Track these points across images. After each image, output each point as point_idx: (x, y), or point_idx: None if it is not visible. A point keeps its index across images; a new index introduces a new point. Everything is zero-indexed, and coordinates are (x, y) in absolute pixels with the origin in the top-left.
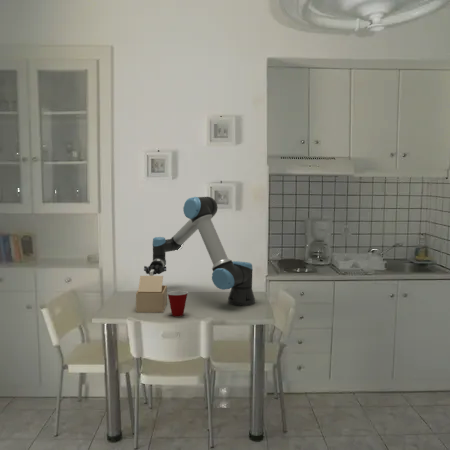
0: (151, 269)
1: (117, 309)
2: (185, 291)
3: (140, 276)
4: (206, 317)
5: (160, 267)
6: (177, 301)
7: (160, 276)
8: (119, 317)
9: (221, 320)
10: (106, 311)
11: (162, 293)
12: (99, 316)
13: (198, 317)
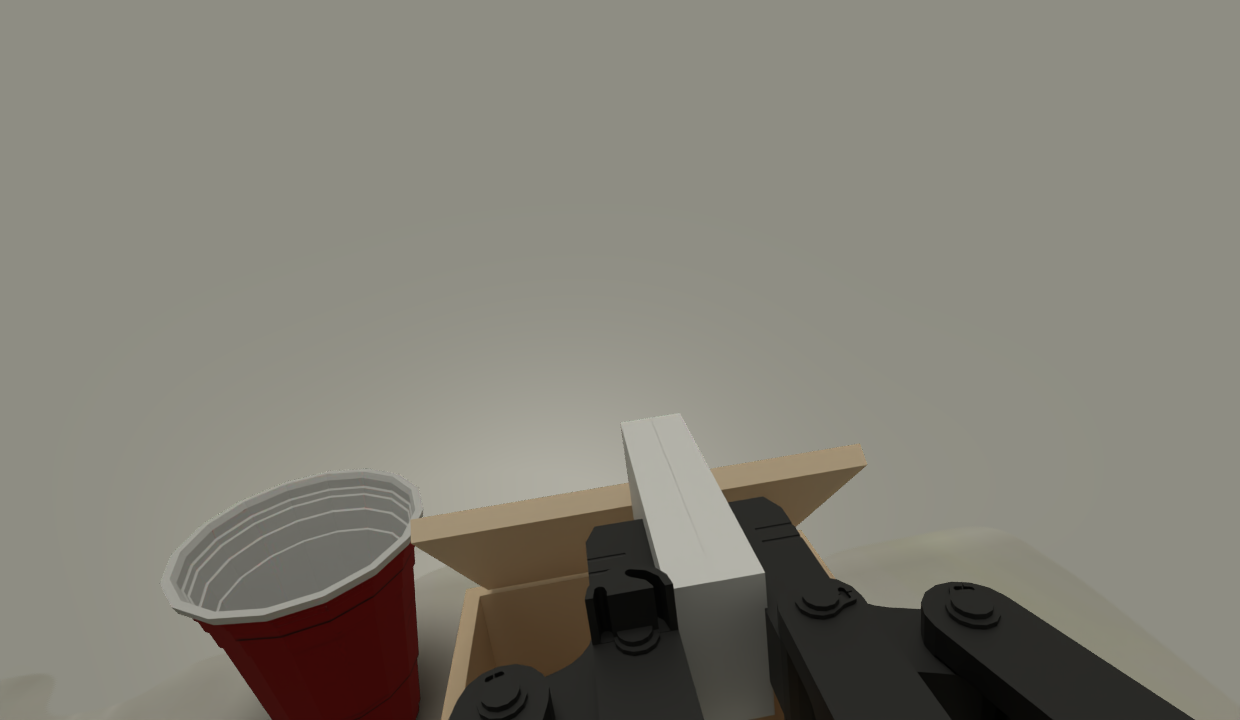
0: (791, 618)
1: None
2: (177, 591)
3: (847, 449)
4: (113, 717)
5: None
6: (342, 543)
7: (464, 514)
8: (854, 570)
9: (39, 676)
10: (1137, 668)
11: (476, 589)
12: (1028, 554)
13: (188, 702)
